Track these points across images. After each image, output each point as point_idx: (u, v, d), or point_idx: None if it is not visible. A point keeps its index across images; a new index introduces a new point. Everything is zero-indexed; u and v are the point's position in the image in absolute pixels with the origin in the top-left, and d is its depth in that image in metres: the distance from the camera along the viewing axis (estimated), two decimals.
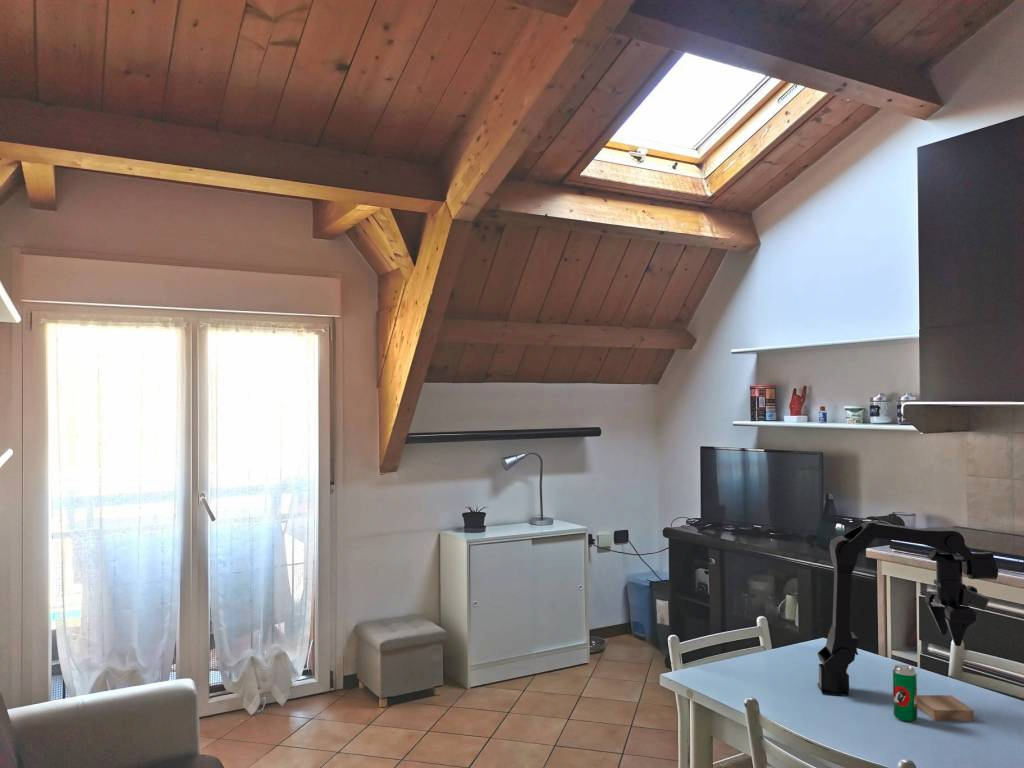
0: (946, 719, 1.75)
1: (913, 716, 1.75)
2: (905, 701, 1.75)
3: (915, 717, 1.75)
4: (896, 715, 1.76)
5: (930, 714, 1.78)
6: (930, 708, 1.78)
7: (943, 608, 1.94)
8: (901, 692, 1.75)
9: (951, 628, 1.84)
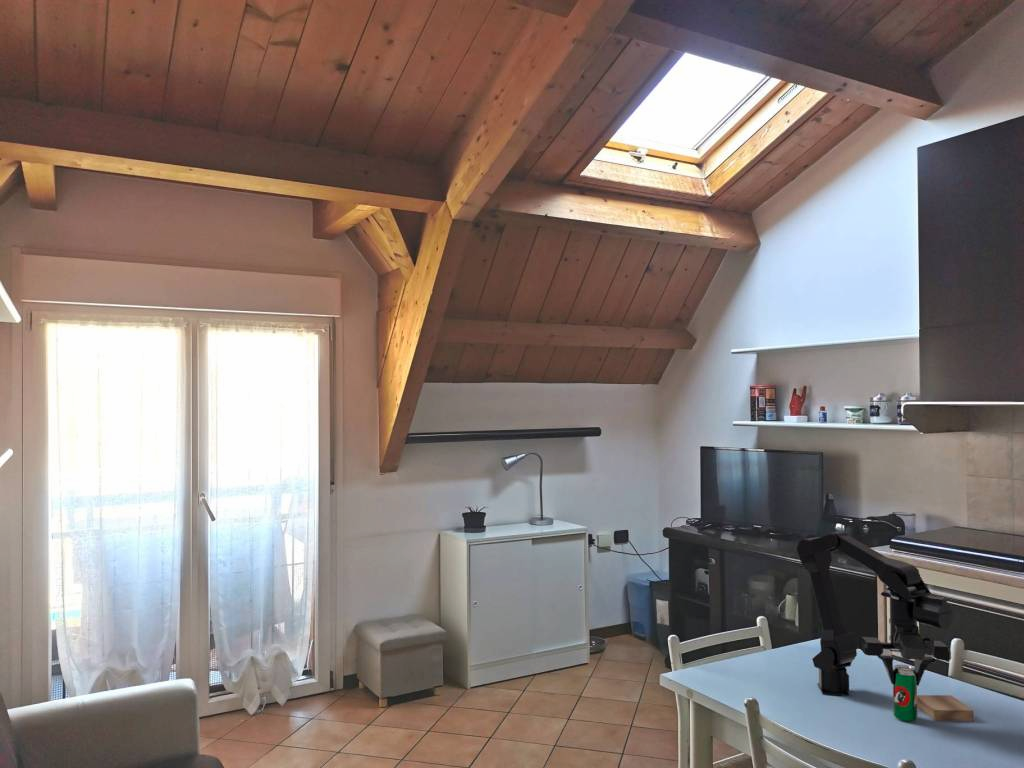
0: (946, 719, 1.75)
1: (913, 716, 1.75)
2: (905, 701, 1.75)
3: (915, 717, 1.75)
4: (896, 715, 1.76)
5: (930, 714, 1.78)
6: (930, 708, 1.78)
7: None
8: (901, 692, 1.75)
9: (882, 660, 1.80)
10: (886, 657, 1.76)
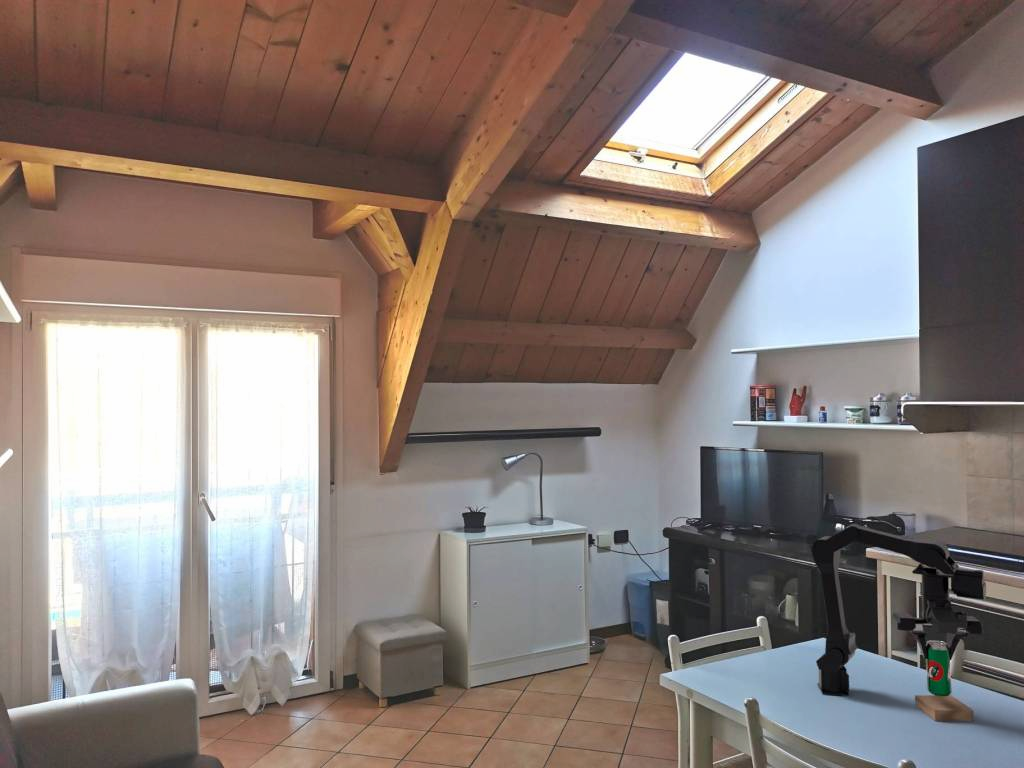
0: (946, 719, 1.75)
1: (947, 690, 1.77)
2: (939, 676, 1.77)
3: (949, 691, 1.77)
4: (930, 690, 1.79)
5: (930, 714, 1.78)
6: (930, 708, 1.78)
7: None
8: (934, 666, 1.78)
9: (915, 636, 1.83)
10: (919, 632, 1.78)
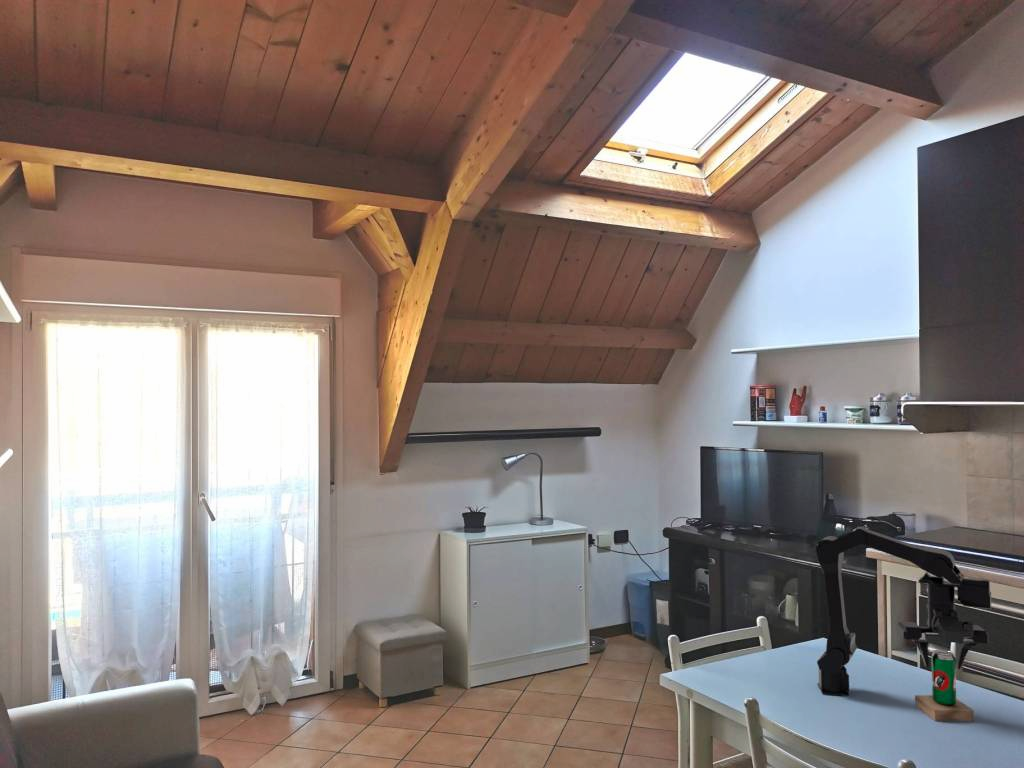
0: (946, 719, 1.75)
1: (953, 700, 1.78)
2: (945, 686, 1.78)
3: (954, 701, 1.78)
4: (935, 699, 1.79)
5: (930, 714, 1.78)
6: (930, 708, 1.78)
7: None
8: (940, 676, 1.78)
9: (916, 644, 1.83)
10: (921, 640, 1.79)
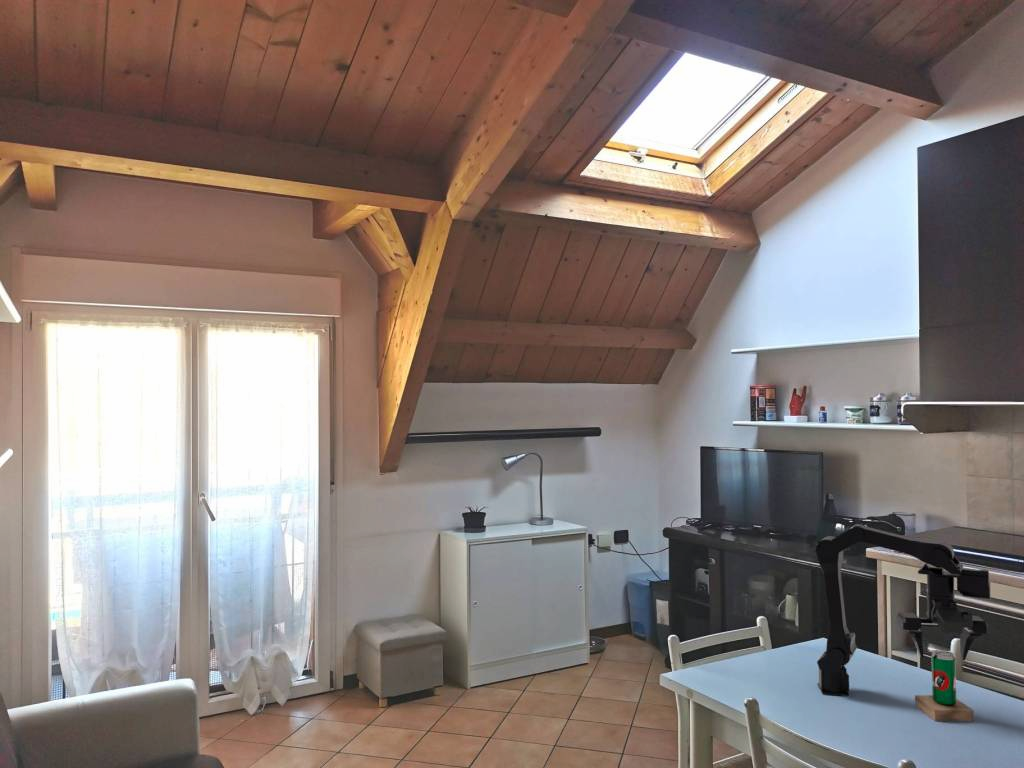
0: (946, 719, 1.75)
1: (953, 700, 1.78)
2: (945, 686, 1.78)
3: (954, 701, 1.78)
4: (935, 699, 1.79)
5: (930, 714, 1.78)
6: (930, 708, 1.78)
7: (965, 632, 1.80)
8: (940, 676, 1.78)
9: (911, 635, 1.84)
10: (916, 631, 1.80)
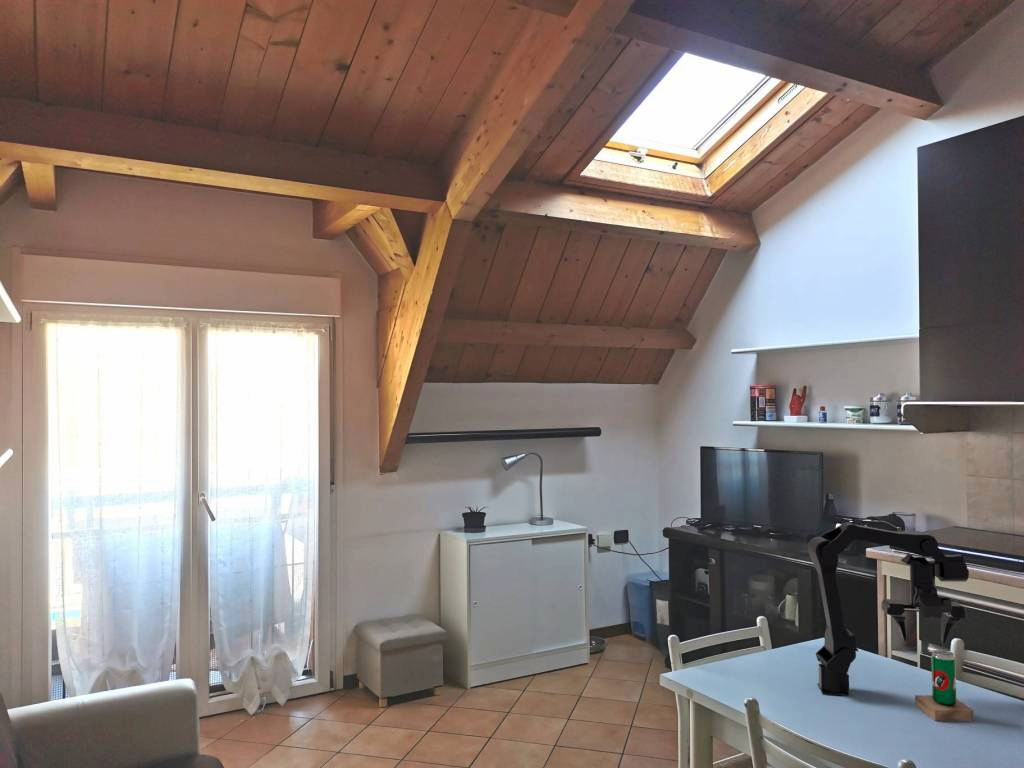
0: (946, 719, 1.75)
1: (953, 700, 1.78)
2: (945, 686, 1.78)
3: (954, 701, 1.78)
4: (935, 699, 1.79)
5: (930, 714, 1.78)
6: (930, 708, 1.78)
7: (945, 617, 1.92)
8: (940, 676, 1.78)
9: (895, 620, 1.96)
10: (899, 616, 1.92)
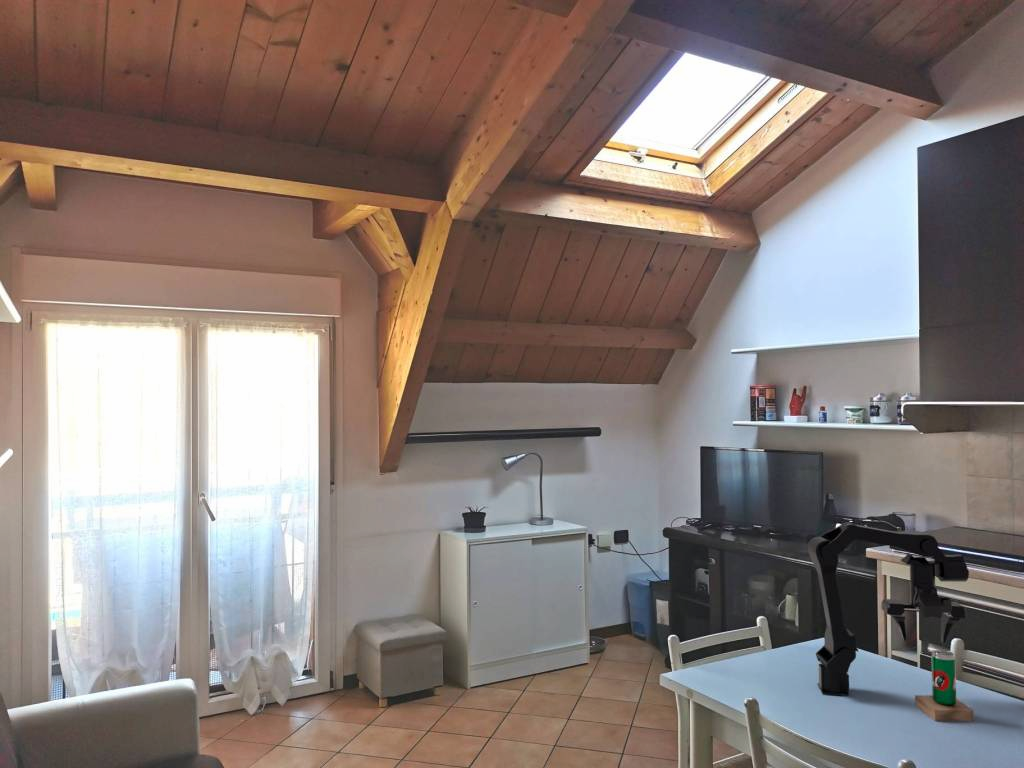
0: (946, 719, 1.75)
1: (953, 700, 1.78)
2: (945, 686, 1.78)
3: (954, 701, 1.78)
4: (935, 699, 1.79)
5: (930, 714, 1.78)
6: (930, 708, 1.78)
7: (945, 617, 1.92)
8: (940, 676, 1.78)
9: (895, 620, 1.96)
10: (899, 616, 1.92)
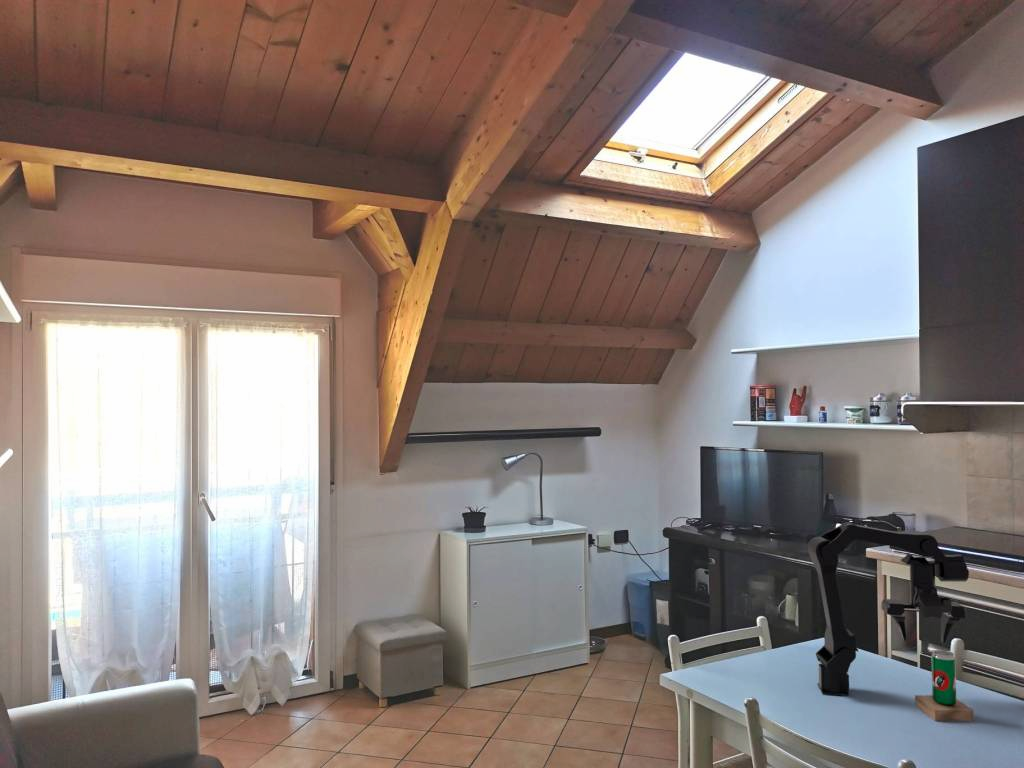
0: (946, 719, 1.75)
1: (953, 700, 1.78)
2: (945, 686, 1.78)
3: (954, 701, 1.78)
4: (935, 699, 1.79)
5: (930, 714, 1.78)
6: (930, 708, 1.78)
7: (945, 617, 1.92)
8: (940, 676, 1.78)
9: (895, 620, 1.96)
10: (899, 616, 1.92)
